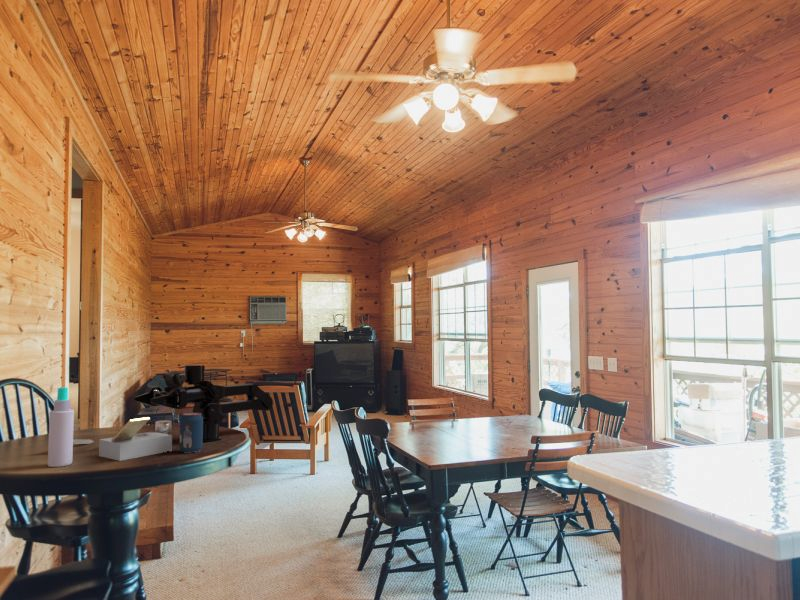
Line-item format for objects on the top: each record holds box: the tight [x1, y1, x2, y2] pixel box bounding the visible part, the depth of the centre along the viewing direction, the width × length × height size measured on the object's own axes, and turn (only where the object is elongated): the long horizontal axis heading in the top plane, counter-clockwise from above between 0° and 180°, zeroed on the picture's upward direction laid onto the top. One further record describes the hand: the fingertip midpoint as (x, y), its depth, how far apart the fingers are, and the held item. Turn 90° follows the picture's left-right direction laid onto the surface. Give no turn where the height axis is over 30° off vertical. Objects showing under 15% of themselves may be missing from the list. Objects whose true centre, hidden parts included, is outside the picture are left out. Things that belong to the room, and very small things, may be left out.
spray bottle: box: [47, 387, 75, 468], centre depth 159 cm, size 6×6×22 cm
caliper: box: [73, 438, 95, 445], centre depth 183 cm, size 20×1×6 cm, turn 174°
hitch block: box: [98, 431, 173, 462], centre depth 174 cm, size 17×12×6 cm
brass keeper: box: [112, 416, 151, 440], centre depth 166 cm, size 6×11×1 cm
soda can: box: [179, 411, 204, 454], centre depth 177 cm, size 7×7×12 cm
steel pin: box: [154, 420, 172, 434], centre depth 188 cm, size 5×5×8 cm
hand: (142, 399), depth 176 cm, fingers open, 9 cm apart
